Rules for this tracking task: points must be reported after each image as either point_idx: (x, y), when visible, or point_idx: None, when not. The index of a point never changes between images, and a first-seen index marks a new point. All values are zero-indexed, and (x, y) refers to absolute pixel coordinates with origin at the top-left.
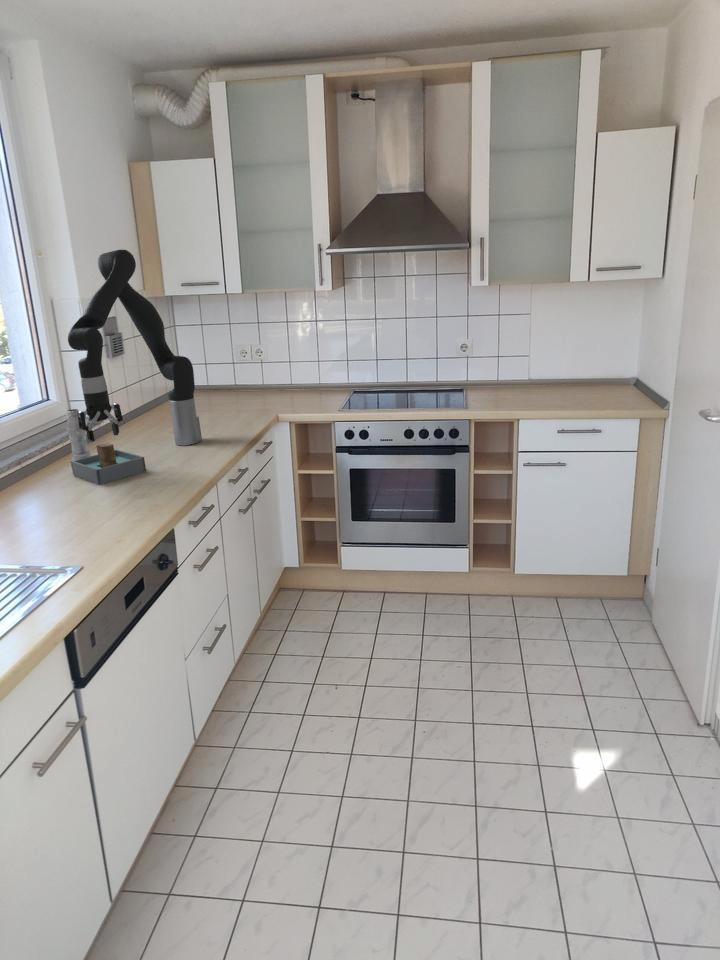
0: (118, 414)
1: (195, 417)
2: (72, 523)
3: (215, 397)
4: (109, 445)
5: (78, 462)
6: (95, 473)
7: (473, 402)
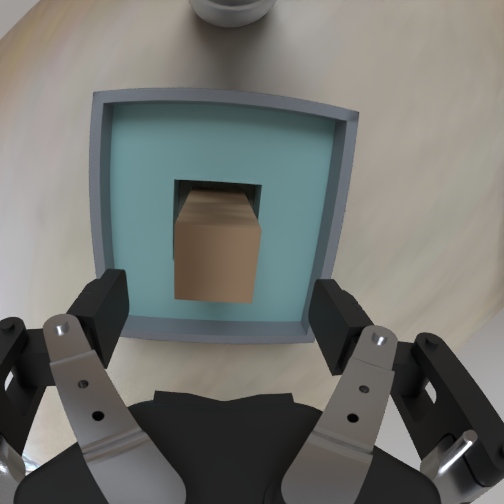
0: (411, 433)
1: None
2: (36, 418)
3: None
4: (225, 301)
5: (127, 102)
6: None
7: None
